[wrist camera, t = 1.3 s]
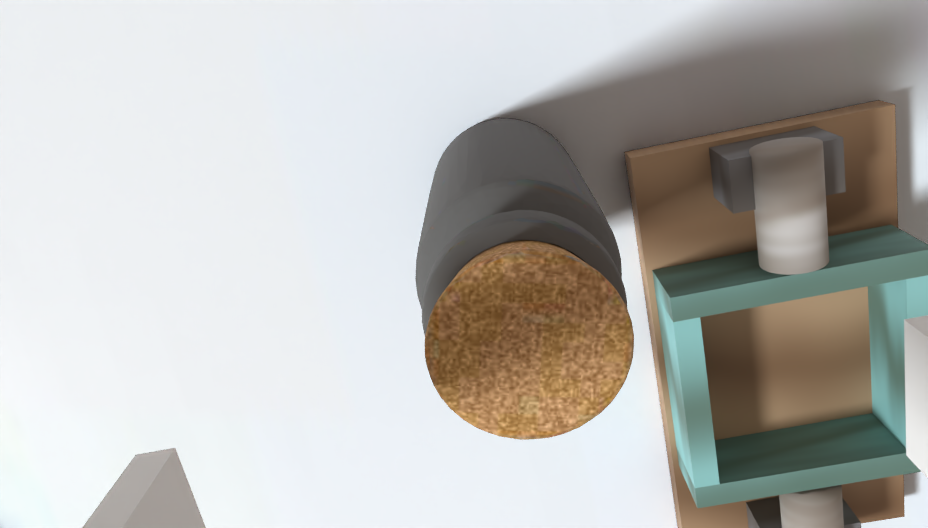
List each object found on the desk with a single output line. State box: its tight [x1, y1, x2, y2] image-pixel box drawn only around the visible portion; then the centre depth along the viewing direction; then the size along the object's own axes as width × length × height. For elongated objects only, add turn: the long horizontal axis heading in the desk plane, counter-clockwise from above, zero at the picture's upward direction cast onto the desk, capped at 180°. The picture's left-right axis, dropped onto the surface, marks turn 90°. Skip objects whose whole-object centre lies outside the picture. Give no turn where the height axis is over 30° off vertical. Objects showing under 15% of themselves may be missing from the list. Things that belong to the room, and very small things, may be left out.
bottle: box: [416, 118, 634, 439], centre depth 24 cm, size 6×6×15 cm
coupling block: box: [624, 100, 928, 528], centre depth 31 cm, size 19×10×5 cm, turn 12°
